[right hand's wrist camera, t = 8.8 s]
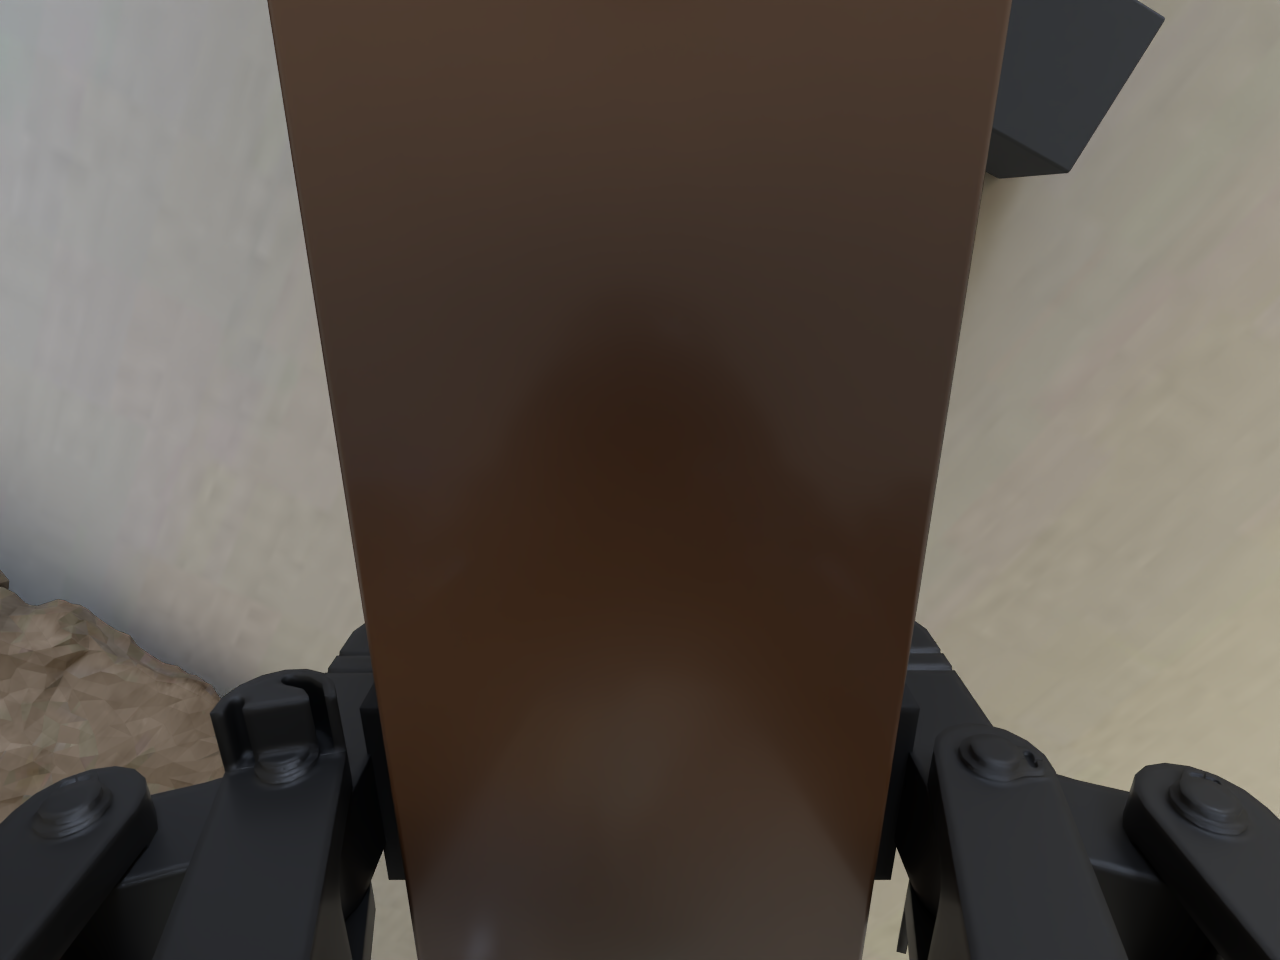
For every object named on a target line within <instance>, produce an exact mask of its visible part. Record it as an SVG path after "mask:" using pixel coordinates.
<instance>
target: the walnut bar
mask: <svg viewBox="0 0 1280 960" xmlns="http://www.w3.org/2000/svg"><path fill="white" fill-rule="evenodd" d="M267 1H268V8H269V14H270V20H271V27H272V33H273V39H274V46H275V52H276V59H277V65H278V71H279V78H280V84H281V90H282V97H283V103H284V110H285V116H286V122H287V129H288V135H289V141H290V148H291V154H292V161H293V167H294V173H295V180H296V186H297V192H298V199H299V205H300V212H301V218H302V224H303V231H304V237H305V243H306V250H307V256H308V263H309V269H310V275H311V282H312V288H313V294H314V301H315V307H316V314H317V320H318V326H319V333H320V339H321V345H322V352H323V358H324V365H325V371H326V377H327V384H328V390H329V396H330V403H331V409H332V416H333V422H334V428H335V435H336V441H337V447H338V454H339V460H340V467H341V473H342V479H343V486H344V492H345V498H346V505H347V511H348V518H349V524H350V530H351V537H352V543H353V549H354V556H355V562H356V569H357V575H358V581H359V588H360V594H361V600H362V607H363V613H364V620H365V626H366V632H367V639H368V645H369V651H370V658H371V664H372V671H373V677H374V683H375V690H376V696H377V702H378V709H379V715H380V722H381V728H382V734H383V741H384V747H385V753H386V760H387V766H388V773H389V779H390V785H391V792H392V798H393V804H394V811H395V817H396V824H397V830H398V836H399V843H400V849H401V855H402V862H403V868H404V875H405V881H406V887H407V894H408V900H409V906H410V913H411V919H412V926H413V932H414V938H415V945H416V951H417V957H418V960H862V954H863V948H864V941H865V935H866V928H867V922H868V916H869V909H870V903H871V897H872V890H873V884H874V878H875V871H876V865H877V858H878V852H879V846H880V839H881V833H882V827H883V820H884V814H885V807H886V801H887V795H888V788H889V782H890V776H891V769H892V763H893V756H894V750H895V744H896V737H897V731H898V725H899V718H900V712H901V705H902V699H903V693H904V686H905V680H906V674H907V667H908V661H909V654H910V648H911V642H912V635H913V629H914V623H915V616H916V610H917V603H918V597H919V591H920V584H921V578H922V572H923V565H924V559H925V552H926V546H927V540H928V533H929V527H930V521H931V514H932V508H933V501H934V495H935V489H936V482H937V476H938V470H939V463H940V457H941V450H942V444H943V438H944V431H945V425H946V419H947V412H948V406H949V399H950V393H951V387H952V380H953V374H954V368H955V361H956V355H957V348H958V342H959V336H960V329H961V323H962V317H963V310H964V304H965V297H966V291H967V285H968V278H969V272H970V266H971V259H972V253H973V247H974V240H975V234H976V227H977V221H978V215H979V208H980V202H981V196H982V189H983V183H984V176H985V170H986V164H987V157H988V151H989V145H990V138H991V132H992V125H993V119H994V113H995V106H996V100H997V94H998V87H999V81H1000V74H1001V68H1002V62H1003V55H1004V49H1005V43H1006V36H1007V30H1008V23H1009V17H1010V11H1011V4H1012V0H267Z"/></svg>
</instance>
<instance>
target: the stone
mask: <svg viewBox="0 0 1280 960" xmlns="http://www.w3.org/2000/svg"><path fill="white" fill-rule="evenodd" d="M8 588H9V580H8V579H7V578H6V576H5V575H4V574H3V573H2V572H1V570H0V823H1V822H2V821H4V820H5V819H6V818H7V817H8V816H9V815H10V814H11V813H12V812H13V811H14V810H15V809H16V808H18V807H19V806H20V805H22V804H23V803H24V802H25V801H27V800H28V799H29V798H30V797H32V796H33V795H34V794H36V793H37V792H39V791H41V790H43V789H45V788H47V787H49V786H50V785H52V784H54V783H56V782H58V781H60V780H62V779H64V778H67V777H70V776H72V775H76V774H78V773H82V772H85V771H87V770H90V769H97V768H105V767H112V766H119V767H125V768H132V769H135V770H136V771H138V772H139V773H140V774H141V775H142V776H144V777H145V779H146V782H147V785H148V788H149V791H150V794H151V795H153V794H157V793H161V792H166V791H170V790H174V789H179V788H183V787H188V786H192V785H196V784H201V783H205V782H208V781H212V780H215V779H218V778H222V777H223V776H224V773H225V770H224V766H223V762H222V759H221V755H220V751H219V747H218V743H217V740H216V736H215V732H214V728H213V725H212V721H211V717H210V712H211V711H212V710H213V708H214V707H215V706H216V704H217V703H218V702H219V701H220V699H221V698H220V697H219V696H218V694H217V693H216V691H215V690H214V688H213V687H212V685H211V684H208V683H206V682H205V681H203V680H202V679H200V678H199V677H198V676H196V675H191V674H187V673H186V672H185V671H183V670H182V669H181V668H180V667H178V666H175V665H170V664H166V663H163V662H161V661H159V660H158V659H156V658H155V657H153V656H151V655H150V654H149V653H147V652H146V651H144V650H143V649H141V648H140V647H138V646H137V644H136V643H135V642H134V640H133V639H132V638H131V636H130V635H128V634H125V633H123V632H120V631H117V630H116V629H114V628H112V627H110V626H109V625H108V624H106V623H105V622H103V621H102V620H100V619H99V618H97V617H96V616H95V615H94V614H93V613H91V612H90V611H89V610H88V609H86V608H85V607H83V606H81V605H77V604H71V603H69V602H67V601H64V600H59V599H57V600H54V601H51V602H48V603H45V604H42V605H39V606H32V605H29V604H26V603H25V602H24V601H23V600H22V599H21V598H19V597H18V596H17V595H16V594H15V593H13V592H11V591H10V590H8Z"/></svg>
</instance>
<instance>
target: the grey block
mask: <svg viewBox="0 0 1280 960" xmlns="http://www.w3.org/2000/svg"><path fill="white" fill-rule="evenodd" d="M1164 20H1165V18H1164V17H1163V16H1161V15H1160V14H1158V13H1157V12H1155V11H1153V10H1152V9H1150V8H1149V7H1147V6H1145V5H1144V4H1142V3H1141V2H1139V1H1137V0H1012V4H1011V11H1010V17H1009V23H1008V30H1007V36H1006V43H1005V49H1004V55H1003V62H1002V68H1001V74H1000V81H999V87H998V94H997V100H996V106H995V113H994V119H993V125H992V132H991V138H990V145H989V151H988V157H987V164H986V170H985V171H986V172H988V173H990V174H991V175H993V176H995V177H997V178H1012V177H1024V176H1037V175H1049V174H1061V173H1068V172H1069V171H1070V170H1071V169H1072V167H1073V165H1074V164H1075V162H1076V161H1077V159H1078V157H1079V156H1080V154H1081V153H1082V151H1083V150H1084V148H1085V146H1086V145H1087V143H1088V142H1089V140H1090V138H1091V137H1092V135H1093V134H1094V132H1095V130H1096V129H1097V127H1098V126H1099V124H1100V122H1101V121H1102V119H1103V118H1104V116H1105V114H1106V113H1107V111H1108V110H1109V108H1110V106H1111V105H1112V103H1113V102H1114V100H1115V99H1116V97H1117V95H1118V94H1119V92H1120V91H1121V89H1122V87H1123V86H1124V84H1125V83H1126V81H1127V79H1128V78H1129V76H1130V75H1131V73H1132V71H1133V70H1134V68H1135V67H1136V65H1137V63H1138V62H1139V60H1140V59H1141V57H1142V56H1143V54H1144V52H1145V51H1146V49H1147V48H1148V46H1149V44H1150V43H1151V41H1152V40H1153V38H1154V36H1155V35H1156V33H1157V32H1158V30H1159V28H1160V27H1161V25H1162V24H1163V22H1164Z"/></svg>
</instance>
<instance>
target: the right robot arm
mask: <svg viewBox="0 0 1280 960" xmlns="http://www.w3.org/2000/svg"><path fill="white" fill-rule="evenodd" d="M210 717H211V721H212V725H213V728H214V732H215V736H216V740H217V743H218V747H219V751H220V755H221V759H222V762H223V766H224V770H225V773H224V776H223V777H222V778H218V779H215V780H212V781H208V782H205V783H201V784H196V785H192V786H188V787H183V788H179V789H174V790H170V791H166V792H161V793H157V794H153V795H151V794H150V791H149V788H148V785H147V782H146V779H145V777H144V776H142V775H141V774H140V773H139V772H138V771H136V770H135V769H132V768H125V767H119V766H112V767H105V768H97V769H90V770H87V771H85V772H82V773H78V774H76V775H72V776H70V777H67V778H64V779H62V780H60V781H58V782H56V783H54V784H52V785H50V786H49V787H47V788H45V789H43V790H41V791H39V792H37V793H36V794H34V795H33V796H32V797H30V798H29V799H28V800H27V801H25V802H24V803H23V804H22V805H20V806H19V807H18V808H16V809H15V810H14V811H13V812H12V813H11V814H10V815H9V816H8V817H7V818H6V819H5V820H4V821H2V822H1V823H0V960H371V951H372V941H373V930H374V920H375V910H376V909H375V902H374V895H373V889H372V884H371V879H372V877H373V874H374V872H375V869H376V867H377V864H378V862H379V859H380V857H381V854H382V852H383V849H384V854H385V860H386V866H387V872H388V878H389V880H405V875H404V868H403V862H402V855H401V849H400V843H399V836H398V830H397V824H396V817H395V811H394V804H393V798H392V792H391V785H390V779H389V773H388V766H387V760H386V753H385V747H384V741H383V734H382V728H381V722H380V715H379V709H378V702H377V696H376V690H375V683H374V677H373V671H372V664H371V658H370V651H369V645H368V639H367V632H366V626H365V624H363V625H362V626H360V627H359V628H358V629H356V630H355V631H353V633H352V634H351V636H350V637H349V639H348V640H347V642H346V643H345V645H344V646H343V647H342V649H341V650H340V654H339V656H336V658H335V659H334V661H333V662H332V664H331V665H330V667H329V668H328V673H325V674H324V673H321V672H317V671H313V670H309V669H294V670H283V671H278V672H274V673H270V674H266V675H262V676H260V677H257V678H255V679H253V680H251V681H248V682H246V683H244V684H242V685H239V686H238V687H237V688H235V689H234V690H232V691H231V692H230V693H228V694H227V695H225V696H224V697H223V698H221V699H220V701H219V702H218V703H217V704H216V706H215V707H214V708H213V710H212V711H211V712H210ZM896 847H897V849H898V852H899V854H900V857H901V859H902V862H903V864H904V867H905V869H906V872H907V874H908V877H909V884H908V889H907V895H906V900H905V906H904V911H903V917H902V922H901V927H900V933H899V939H898V946H897V952H900V953H905V954H906V951H907V945H908V949H909V960H1280V820H1279V819H1278V818H1277V817H1276V816H1275V815H1274V814H1273V813H1272V812H1271V811H1270V810H1269V809H1268V808H1267V807H1266V806H1264V805H1263V804H1262V803H1261V802H1259V801H1258V800H1257V799H1255V798H1254V797H1253V796H1252V795H1250V794H1249V793H1248V792H1246V791H1245V790H1244V789H1242V788H1240V787H1238V786H1236V785H1234V784H1232V783H1230V782H1228V781H1227V780H1225V779H1223V778H1221V777H1219V776H1217V775H1214V774H1211V773H1209V772H1205V771H1202V770H1199V769H1196V768H1193V767H1190V766H1184V765H1176V764H1169V763H1161V764H1154V765H1148V766H1145V767H1144V768H1143V769H1141V770H1140V771H1139V772H1138V773H1137V774H1135V777H1134V780H1133V783H1132V786H1131V789H1130V792H1127V791H1123V790H1118V789H1114V788H1110V787H1105V786H1101V785H1096V784H1092V783H1088V782H1083V781H1079V780H1075V779H1071V778H1068V777H1065V776H1061V775H1058V774H1056V772H1055V770H1054V768H1053V767H1052V765H1051V764H1050V762H1049V761H1048V759H1047V758H1046V756H1045V755H1044V754H1043V753H1042V752H1040V751H1039V750H1038V749H1037V748H1035V747H1034V746H1033V745H1032V744H1031V743H1029V742H1028V741H1027V740H1025V739H1023V738H1021V737H1019V736H1017V735H1015V734H1013V733H1011V732H1009V731H1007V730H1004V729H1000V728H997V727H993V726H992V724H991V723H990V721H989V720H988V718H987V717H986V716H985V714H984V713H983V711H982V710H981V708H980V707H979V705H978V704H977V702H976V701H975V699H974V698H973V697H972V695H971V694H970V692H969V691H968V689H967V688H966V686H965V685H964V683H963V682H962V680H961V679H960V678H959V676H958V675H957V673H956V672H955V670H952V666H951V664H950V663H949V661H948V660H947V658H946V657H945V656H944V654H943V653H940V648H939V647H938V645H937V644H936V642H935V641H934V639H933V638H932V637H931V635H930V634H929V632H928V631H927V629H925V628H924V627H923V626H921V625H920V624H918V623H917V622H916V621H915V623H914V629H913V635H912V642H911V648H910V654H909V661H908V667H907V674H906V680H905V686H904V693H903V699H902V705H901V712H900V718H899V725H898V731H897V737H896V744H895V750H894V756H893V763H892V769H891V776H890V782H889V788H888V795H887V801H886V807H885V814H884V820H883V827H882V833H881V839H880V846H879V852H878V858H877V865H876V871H875V878H874V880H891V875H892V869H893V863H894V857H895V852H896Z"/></svg>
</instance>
